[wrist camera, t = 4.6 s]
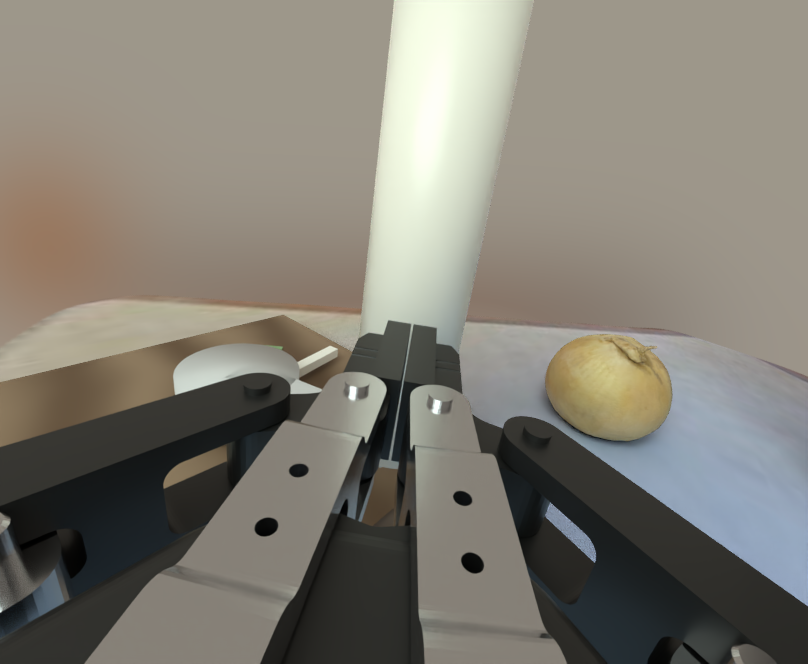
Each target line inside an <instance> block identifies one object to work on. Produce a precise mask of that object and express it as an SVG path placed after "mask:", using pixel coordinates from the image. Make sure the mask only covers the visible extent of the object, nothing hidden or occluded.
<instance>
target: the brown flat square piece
mask: <svg viewBox="0 0 808 664" xmlns="http://www.w3.org/2000/svg"><path fill="white" fill-rule="evenodd" d="M244 343H246V344H259V345H265V346H270V347H274V348H277V349H280V350H282V351H284V352H286V353H288V354H289V355H291V356H292V357H293V358H294V359H295V360H296V361H297V362H299V361H301V360H303V359H305V358H307V357H309V356H311V355H313V354H315V353H317V352H319V351H321V350H323V349H325V348H326V347H328V346H332V347H334V348H337V349H338V356H337V357H336V358H334V359H332V360H330V361H329V362H327V363H325V364H323V365H321V366H320V367H318V368H316V369H314V370H312V371H311V372H309V373H307V374H305V375H303V376H301V377H300V378H299V380H300V381H302V382H305V383H307V384H310V385H312V386H315V387H317V388H320V389H323V388H324V386H325V385H326V383H327V382H328V381H329V379H330V378H332V377H333V376H335V375H337V374H340V373H343V371H344V369H345V367H346V365H347V363H348V361H349V358H350V356H351V355H352V352H351V351H350V350H348V349H346V348H344V347H342V346H340V345H338V344H337V343H335V342H333V341H331V340H329V339H327V338H325V337H323V336H322V335H320V334H318V333H316V332H314V331H312V330H310V329H309V328H307V327H305V326H303V325H301V324H299V323H297V322H296V321H294V320H292V319H290V318H288V317H286V316H284V315H281V316H277V317H272V318H268V319H264V320H260V321H256V322H251V323H247V324H243V325H239V326H235V327H231V328H226V329H222V330H218V331H214V332H210V333H205V334H201V335H197V336H193V337H189V338H184V339H180V340H176V341H172V342H168V343H164V344H159V345H155V346H151V347H147V348H143V349H138V350H134V351H130V352H126V353H122V354H117V355H113V356H109V357H105V358H101V359H96V360H92V361H88V362H84V363H80V364H76V365H71V366H67V367H63V368H59V369H55V370H50V371H46V372H42V373H38V374H34V375H29V376H25V377H21V378H17V379H13V380H8V381H4V382H0V447H2V446H5V445H9V444H12V443H15V442H19V441H22V440H26V439H29V438H32V437H36V436H39V435H42V434H46V433H49V432H52V431H56V430H59V429H62V428H66V427H69V426H73V425H76V424H79V423H83V422H86V421H89V420H93V419H96V418H99V417H103V416H106V415H110V414H113V413H116V412H120V411H123V410H126V409H130V408H133V407H136V406H140V405H143V404H146V403H150V402H153V401H157V400H160V399H163V398H167V397H170V396H173V395H175V390H174V380H173V374H174V370H175V368H176V367H177V365H178V364H179V363H180V362H181V361H182V360H184V359H185V358H186V357H188V356H190V355H192V354H194V353H196V352H198V351H201V350H204V349H207V348H211V347H215V346H220V345H227V344H244ZM226 461H227V451H226V445H223V446H221V447H218V448H216V449H213V450H211V451H209V452H206V453H204V454H201V455H199V456H196V457H194V458H191V459H189V460H187V461H184V462H182V463H180V464H178V465H177V466H175V467H174V468H173V469H172V470H171V471H170V472H169V473H168V474H167V476H166V478H165V480H164V484H163V487H164V488H167V487H169V486H171V485H174V484H176V483H178V482H180V481H183V480H185V479H187V478H189V477H192V476H194V475H196V474H198V473H201V472H203V471H205V470H208V469H210V468H212V467H214V466H217V465H219V464H221V463H223V462H226ZM397 472H398V469H391V468H385V467H381V468H380V467H378V470H377V471H376V473H375V477H374V483H373V487H372V490H371V493H370V496H369V499H368V503H367V506H366V509H365V512H364V515H363V518H362V521H361V522H362V523H365V524H367V525H370V526H374V527H389V526H393V519H394V496H395V484H396V478H397Z"/></svg>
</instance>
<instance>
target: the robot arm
mask: <svg viewBox="0 0 808 664" xmlns="http://www.w3.org/2000/svg"><path fill="white" fill-rule="evenodd" d="M410 331H411V324H410V323H403V322H397V321H391V320H388V322H387V325H386V328H385V331H384V334H383V335H381V334H375V333H367V334H365V335H364V336H362V337H360V338H359V339H358V341H357V343H356V345H355V348H354V350H353V352H352V355H351V356H350V358H349V361H348V363H347V365H346V367H345V369H344V371H343V373H340V374H337V375H335V376H333V377H332V378H330V379H329V381H328V382H327V383H326V385H325V386H324V388H323V389H322V391H321V392H317V393H308V394H290V393H291V387H290V384H289V382H288V381H287V380H286V379H284V378H283V377H280V376H278V375H275V374H270V373H249V374H244V375H240V376H237V377H234V378H230V379H227V380H224V381H220V382H217V383H214V384H210V385H207V386H204V387H200V388H197V389H193V390H190V391H187V392H183V393H180V394H177V395H173V396H170V397H167V398H163V399H160V400H157V401H153V402H150V403H146V404H143V405H140V406H136V407H133V408H130V409H126V410H123V411H120V412H116V413H113V414H110V415H106V416H103V417H99V418H96V419H93V420H89V421H86V422H83V423H79V424H76V425H73V426H69V427H66V428H62V429H59V430H56V431H52V432H49V433H46V434H42V435H39V436H36V437H32V438H29V439H26V440H22V441H19V442H15V443H12V444H9V445H5V446H2V447H0V664H808V606H806V605H805V604H804V603H802V602H801V601H799V600H798V599H797V598H795V597H794V596H792V595H791V594H790V593H788V592H787V591H785V590H784V589H782V588H781V587H780V586H778V585H777V584H775V583H774V582H773V581H771V580H770V579H768V578H767V577H766V576H764V575H763V574H761V573H760V572H759V571H757V570H756V569H754V568H753V567H752V566H750V565H749V564H747V563H746V562H744V561H743V560H742V559H740V558H739V557H737V556H736V555H735V554H733V553H732V552H730V551H729V550H728V549H726V548H725V547H723V546H722V545H721V544H719V543H718V542H716V541H715V540H714V539H712V538H711V537H709V536H708V535H706V534H705V533H704V532H702V531H701V530H699V529H698V528H697V527H695V526H694V525H692V524H691V523H690V522H688V521H687V520H685V519H684V518H683V517H681V516H680V515H678V514H677V513H676V512H674V511H673V510H671V509H670V508H669V507H667V506H666V505H664V504H663V503H661V502H660V501H659V500H657V499H656V498H654V497H653V496H652V495H650V494H649V493H647V492H646V491H645V490H643V489H642V488H640V487H639V486H638V485H636V484H635V483H633V482H632V481H631V480H629V479H628V478H626V477H625V476H623V475H622V474H621V473H619V472H618V471H616V470H615V469H614V468H612V467H611V466H609V465H608V464H607V463H605V462H604V461H602V460H601V459H600V458H598V457H597V456H595V455H594V454H593V453H591V452H590V451H588V450H587V449H586V448H584V447H583V446H581V445H580V444H578V443H577V442H576V441H574V440H573V439H571V438H570V437H569V436H567V435H566V434H564V433H563V432H562V431H560V430H559V429H557V428H556V427H554V426H553V425H551V424H549V423H547V422H545V421H542V420H540V419H536V418H532V417H525V416H519V417H513V418H511V419H509V420H507V421H506V422H505V424H504V427H503V429H502V428H499V427H497V426H494V425H491V424H489V423H486V422H484V421H482V420H480V419H478V418H477V417H475V416H474V415H473V414H472V412H471V408H470V404H469V401H468V400H467V399H466V397H465V396H464V395H462V384H461V373H460V360H459V354H458V353H457V352H456V350H455V349H454V348H453V347H452V346H450V345H443V344H437V343H436V338H437V328H435V327H429V326H422V325H416V324H414V325H413V331H412V336H411V342H410V348H409V354H408V359H407V365H406V371H405V377H404V383H403V389H402V395H401V402H400V408H399V414H398V421H397V427H396V433H395V439H394V446H393V452H392V458H391V461H396V462H399V465H398V472H397V478H396V484H395V496H394V519H393V526H389V527H374V526H370V525H367V524H365V523H362V522H361V521H362V518H363V515H364V512H365V509H366V506H367V503H368V499H369V496H370V493H371V490H372V487H373V483H374V477H375V473H376V471H377V470H378V467H379V462H380V459H383V460H389V455H390V449H391V443H392V438H393V432H394V427H395V421H396V415H397V410H398V404H399V399H400V393H401V387H402V381H403V375H404V369H405V363H406V356H407V350H408V344H409V337H410ZM223 445H226V451H227V461H226V462H223V463H221V464H219V465H217V466H214V467H212V468H210V469H208V470H205V471H203V472H201V473H198V474H196V475H194V476H192V477H189V478H187V479H185V480H183V481H180V482H178V483H176V484H174V485H171V486H169V487H167V488H164V487H163V484H164V480H165V478H166V476H167V474H168V473H169V472H170V471H171V470H172V469H173V468H174V467H175V466H177V465H178V464H180V463H182V462H184V461H187V460H189V459H191V458H194V457H196V456H199V455H201V454H204V453H206V452H209V451H211V450H213V449H216V448H218V447H221V446H223ZM550 502H551V503H552V504H553V505H554V506H555V507H556V508H557V509H558V510H560V511H561V512H562V513H563V514H564V515H565V516H566V517H567V518H569V519H570V520H571V521H572V522H573V523H574V524H575V525H576V526H578V527H579V528H580V529H581V530H582V531H583V532H584V533H585V534H586V535H587V536H588V537H589V538H590V540H591V541H592V543H593V545H594V548H595V551H596V562H595V563H594V562H593V561H592V560H591V559H590V558H589V557H587V556H586V555H585V554H584V553H583V552H582V551H581V550H580V549H579V548H578V547H577V546H576V545H575V544H574V543H572V542H571V541H570V540H569V539H568V538H567V537H566V536H565V535H564V534H563V533H562V532H561V531H560V530H558V529H557V528H556V527H555V526H554V525H553V524H552V523H551V522H550V521H549V520H548V519H547V518H546V517H545V514H546V512H547V509H548V506H549V504H550Z"/></svg>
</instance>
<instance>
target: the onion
mask: <svg viewBox="0 0 808 664" xmlns="http://www.w3.org/2000/svg"><path fill="white" fill-rule="evenodd" d="M656 348H657V346H656V347H655V346H650V347H645V346H643V345H642V344H640V343H639V342H638V341H636V340H635V339H634V338H631V337H627V336H621V335H609V334H600V335H589V336H585V337H580V338H577V339H575V340H573V341H571V342H570V343H568V344H566V345H564V346H563V347H562V348H561V349H560V351H558V352H557V353H556V355H555V356H554V357H553V359H552V360H551V362H550V364H549V366H548V369H547V372H546V378H545V386H546V391H547V395H548V397H549V399H550V401H551V404H552V405H553V407H554V410H555V411H557V412H558V413H559V415H560V416H561V417H562V418H563V419H564V420H565V419H566V422H568V423H569V424H571V425H572V426H574V427H575V428H577V429H579V430H580V431H581V432H584V433H586V434H588V435H592V436H595V437H599V438H603V439H608V440H613V441H616V440H622V441H631V440H635V439H639V438H642V437H644V436H646V435H648V434H650V433H652V432H654V431H655V430H656V429H658V428H659V427H660V426H661V424H662V423H663V422H664V421H665V419H666V417H667V415H668V414H669V411H670V407H671V402H672V386H671V380H670V376H669V374H668V371H667V369H666V368H665V366H664V364H663V363H662V362H661V361H660V360H659V358H658V357H657V356H656V355H655V354H653V353H652V352H651V351H650V349H656Z"/></svg>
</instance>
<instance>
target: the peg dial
mask: <svg viewBox="0 0 808 664" xmlns="http://www.w3.org/2000/svg"><path fill="white" fill-rule="evenodd" d="M533 4H534V0H394V7H393V18H392V27H391V36H390V46H389V55H388V65H387V74H386V84H385V94H384V104H383V113H382V123H381V132H380V141H379V151H378V161H377V170H376V180H375V189H374V190H375V191H374V199H373V209H372V219H371V228H370V238H369V248H368V257H367V266H366V277H365V285H364V295H363V305H362V314H361V323H360V333H359V338H360V337H362V336H364V335H365V334H367V333H375V334H381V335H383V334H384V331H385V328H386V325H387V322H388V320H391V321H397V322H403V323H410V324H411V331H410V337H409V344H408V350H407V356H406V363H405V369H404V375H403V381H402V387H401V393H400V399H399V404H398V410H397V415H396V421H395V427H394V432H393V438H392V443H391V449H390V455H389V460H383V459H380V462H379V467H380V468H381V467H385V468H391V469H398V465H399V462H396V461H391V458H392V452H393V446H394V439H395V433H396V427H397V421H398V414H399V408H400V402H401V395H402V389H403V383H404V377H405V371H406V365H407V359H408V354H409V348H410V342H411V336H412V331H413V325H414V324H416V325H422V326H429V327H435V328H437V338H436V343H437V344H443V345H450V346H452V347H453V348H454V349H455V350H456V352H457V353H459V349H460V344H461V339H462V335H463V330H464V325H465V321H466V316H467V311H468V306H469V302H470V297H471V293H472V288H473V283H474V279H475V274H476V269H477V265H478V260H479V256H480V251H481V246H482V242H483V237H484V232H485V228H486V223H487V218H488V213H489V209H490V204H491V200H492V195H493V190H494V186H495V181H496V176H497V172H498V167H499V162H500V158H501V153H502V148H503V144H504V139H505V134H506V130H507V125H508V120H509V115H510V111H511V106H512V102H513V97H514V92H515V87H516V83H517V78H518V74H519V69H520V64H521V59H522V55H523V50H524V46H525V41H526V36H527V31H528V27H529V22H530V18H531V13H532V8H533ZM337 356H338V349H337V348H334V347H332V346H328V347H326V348H325V349H323V350H321V351H319V352H317V353H315V354H313V355H311V356H309V357H307V358H305V359H303V360H301V361H299V362H297V361H296V360H295V359H294V358H293V357H292V356H291V355H289V354H288V353H286V352H284V351H282V350H280V349H277V348H274V347H270V346H265V345H259V344H246V343H244V344H227V345H220V346H215V347H211V348H207V349H204V350H201V351H198V352H196V353H194V354H192V355H190V356H188V357H186V358H185V359H184V360H182V361H181V362H180V363H179V364H178V365H177V367H176V368H175V370H174V374H173V380H174V390H175V395H177V394H180V393H183V392H187V391H190V390H193V389H197V388H200V387H204V386H207V385H210V384H214V383H217V382H220V381H224V380H227V379H230V378H234V377H237V376H240V375H244V374H249V373H270V374H275V375H278V376H280V377H283V378H284V379H286V380H287V381H288V382H289V384H290V387H291V393H290V394H308V393H317V392H321V391H322V389H320V388H317V387H315V386H312V385H310V384H307V383H305V382H302V381H300V380H299V378H300V377H301V376H303V375H305V374H307V373H309V372H311V371H312V370H314V369H316V368H318V367H320V366H321V365H323V364H325V363H327V362H329V361H330V360H332V359H334V358H336V357H337Z"/></svg>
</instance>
